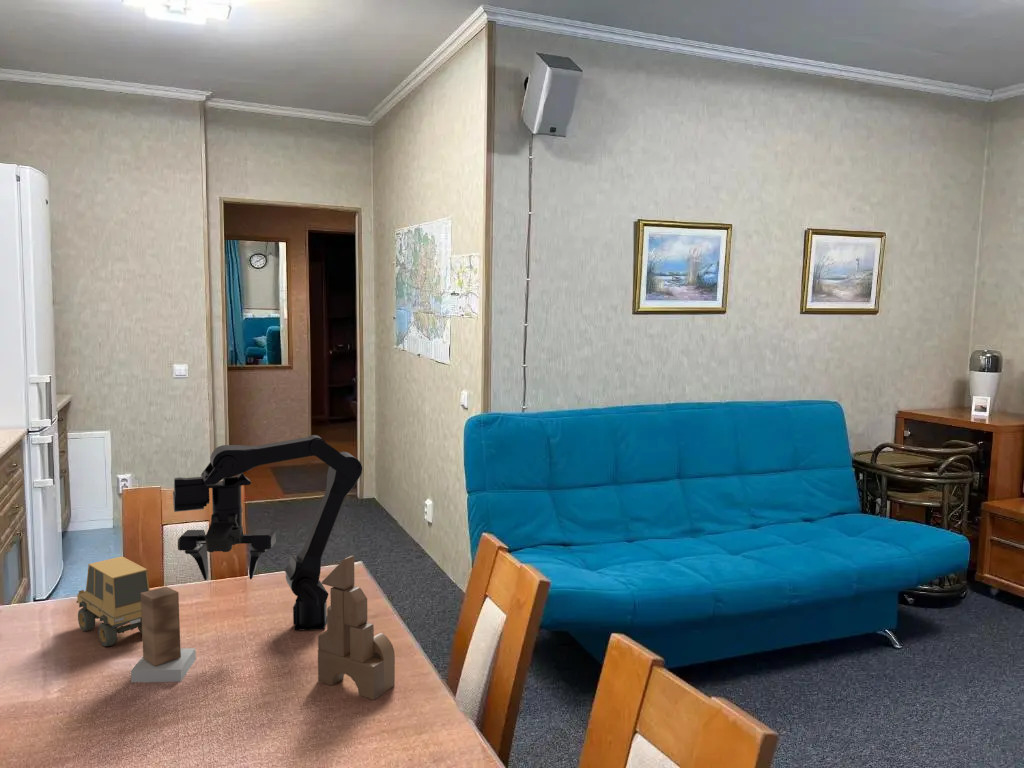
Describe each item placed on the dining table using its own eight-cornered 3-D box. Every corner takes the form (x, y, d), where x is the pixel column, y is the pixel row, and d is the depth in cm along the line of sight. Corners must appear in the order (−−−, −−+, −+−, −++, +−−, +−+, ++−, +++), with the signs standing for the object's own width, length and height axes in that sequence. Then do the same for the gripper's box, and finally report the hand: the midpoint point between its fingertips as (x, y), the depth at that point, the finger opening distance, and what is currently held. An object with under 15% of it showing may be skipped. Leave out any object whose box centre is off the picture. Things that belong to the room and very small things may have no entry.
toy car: (122, 613, 179) (120, 549, 178) (161, 637, 167) (158, 569, 165) (73, 626, 172) (70, 560, 170) (110, 653, 159) (107, 582, 158)
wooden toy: (397, 685, 148) (397, 556, 145) (373, 700, 142) (373, 567, 139) (335, 665, 156) (334, 542, 153) (311, 678, 150) (309, 551, 147)
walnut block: (168, 650, 156) (166, 586, 154) (180, 657, 152) (178, 592, 151) (143, 658, 152) (140, 593, 151) (155, 666, 148) (152, 599, 147)
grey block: (195, 662, 157) (195, 648, 157) (181, 684, 148) (180, 669, 148) (149, 663, 156) (148, 649, 156) (131, 686, 147) (131, 670, 147)
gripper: (167, 517, 155) (169, 594, 157) (264, 516, 157) (266, 592, 158) (185, 503, 166) (187, 574, 168) (275, 502, 168) (277, 573, 169)
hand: (228, 579), depth 165 cm, fingers open, 9 cm apart
